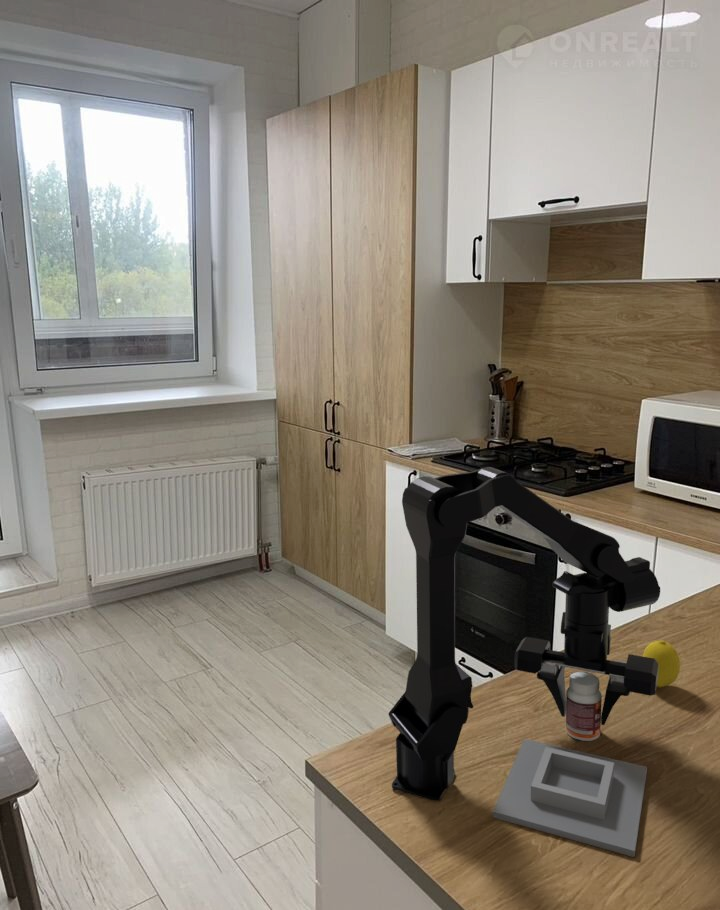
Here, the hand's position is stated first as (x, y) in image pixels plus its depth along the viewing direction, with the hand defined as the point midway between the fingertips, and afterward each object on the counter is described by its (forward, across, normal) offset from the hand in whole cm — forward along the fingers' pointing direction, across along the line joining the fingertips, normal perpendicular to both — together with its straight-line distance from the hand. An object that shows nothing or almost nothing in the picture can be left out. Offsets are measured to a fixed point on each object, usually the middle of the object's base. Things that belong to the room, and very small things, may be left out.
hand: (583, 719), depth 102 cm
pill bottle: (+2, 0, 0) cm, 2 cm away
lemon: (+2, -9, -17) cm, 19 cm away
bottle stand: (+2, -1, +14) cm, 14 cm away
